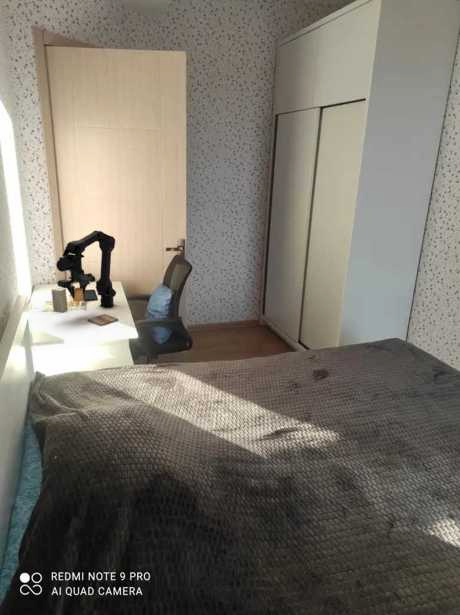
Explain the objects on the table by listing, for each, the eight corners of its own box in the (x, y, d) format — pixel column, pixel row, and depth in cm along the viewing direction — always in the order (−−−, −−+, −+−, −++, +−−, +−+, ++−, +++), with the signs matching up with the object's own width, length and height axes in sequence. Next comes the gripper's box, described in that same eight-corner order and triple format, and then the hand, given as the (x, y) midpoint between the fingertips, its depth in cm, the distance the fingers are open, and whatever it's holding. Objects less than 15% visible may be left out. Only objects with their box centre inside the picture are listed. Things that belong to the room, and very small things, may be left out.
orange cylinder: (79, 297, 238) (78, 286, 236) (85, 300, 235) (84, 288, 233) (70, 300, 234) (70, 288, 232) (76, 302, 231) (76, 290, 229)
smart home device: (83, 299, 263) (80, 289, 281) (83, 302, 264) (81, 292, 281) (98, 298, 266) (94, 289, 284) (98, 301, 266) (95, 291, 284)
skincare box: (68, 310, 248) (66, 288, 245) (63, 312, 244) (61, 290, 241) (57, 308, 250) (56, 287, 246) (52, 310, 246) (51, 289, 242)
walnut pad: (104, 315, 242) (104, 313, 242) (118, 320, 236) (118, 318, 236) (87, 321, 234) (87, 319, 234) (101, 326, 228) (101, 324, 228)
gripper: (69, 273, 217) (71, 304, 222) (101, 267, 231) (102, 296, 237) (55, 269, 223) (58, 299, 228) (87, 263, 238) (89, 292, 243)
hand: (77, 297), depth 234 cm, fingers closed on orange cylinder, 5 cm apart
